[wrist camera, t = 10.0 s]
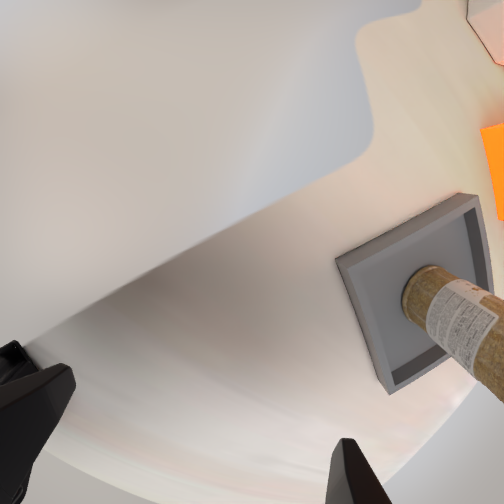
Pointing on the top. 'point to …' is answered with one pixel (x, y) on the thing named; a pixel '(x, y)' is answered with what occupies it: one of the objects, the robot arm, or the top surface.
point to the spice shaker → (460, 322)
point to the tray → (398, 275)
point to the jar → (489, 25)
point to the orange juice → (496, 162)
